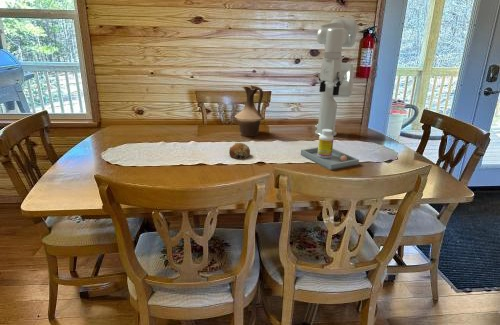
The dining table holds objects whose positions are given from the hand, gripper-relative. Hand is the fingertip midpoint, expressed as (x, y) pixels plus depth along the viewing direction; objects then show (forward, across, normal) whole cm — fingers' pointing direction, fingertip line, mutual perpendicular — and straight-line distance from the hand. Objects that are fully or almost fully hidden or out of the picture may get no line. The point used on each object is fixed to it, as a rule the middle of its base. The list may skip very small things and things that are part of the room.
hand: (328, 93), depth 165 cm
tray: (+28, +14, -8) cm, 33 cm away
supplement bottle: (+28, +11, -8) cm, 31 cm away
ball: (+28, +20, -4) cm, 34 cm away
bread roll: (+29, -8, -44) cm, 53 cm away
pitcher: (+28, -39, -22) cm, 53 cm away
